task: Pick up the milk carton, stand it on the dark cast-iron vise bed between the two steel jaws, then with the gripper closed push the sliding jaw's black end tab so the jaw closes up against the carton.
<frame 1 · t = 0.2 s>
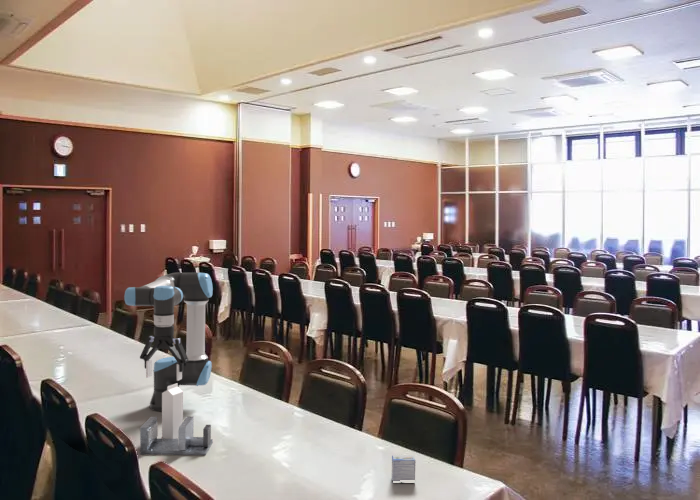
hand: (164, 378, 226), 27 cm above the table, fingers open, 13 cm apart
vise base: (177, 448, 225), on the table
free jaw: (195, 433, 225), point 6 cm above the table, slide at 0.0 cm
milk: (172, 437, 237), on the table
medicine box: (403, 481, 201), on the table
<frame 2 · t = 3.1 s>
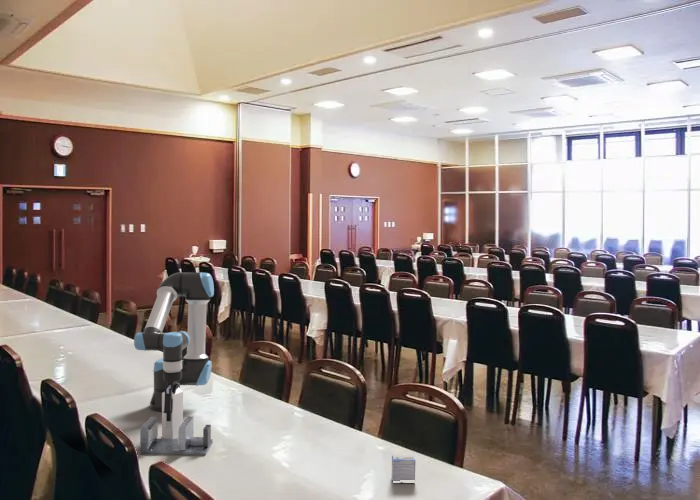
hand: (172, 424, 237), 5 cm above the table, fingers closed on milk, 8 cm apart
milk: (172, 437, 237), on the table, touching gripper
everything else where it was.
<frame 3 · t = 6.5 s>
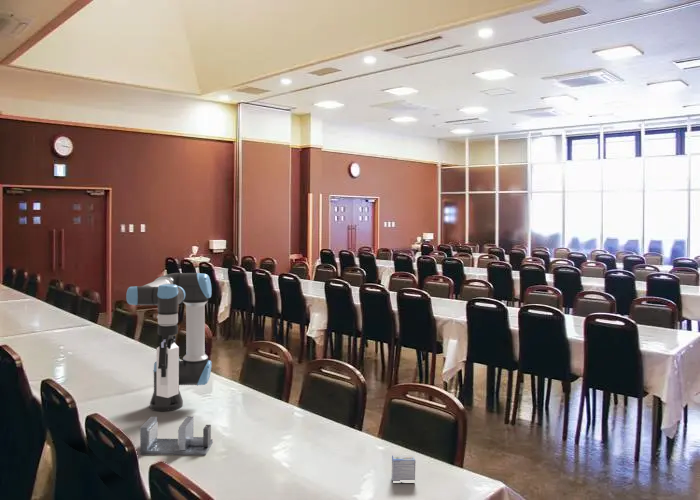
hand: (167, 381, 224), 27 cm above the table, fingers closed on milk, 8 cm apart
milk: (167, 395, 224), point 21 cm above the table, touching gripper
everything else where it was.
when the fingers open (8 cm above the table, at t = 10.1 s): milk drops 1 cm, resting on vise base.
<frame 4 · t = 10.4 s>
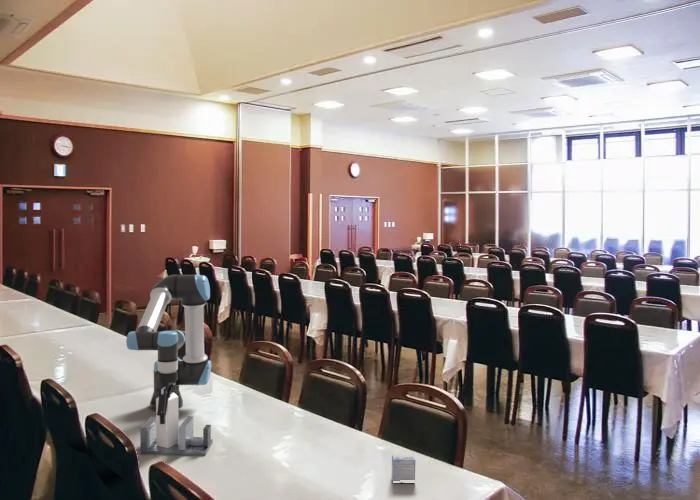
hand: (167, 426, 225), 9 cm above the table, fingers open, 11 cm apart
milk: (167, 444, 225), point 1 cm above the table, touching vise base
everything else where it was.
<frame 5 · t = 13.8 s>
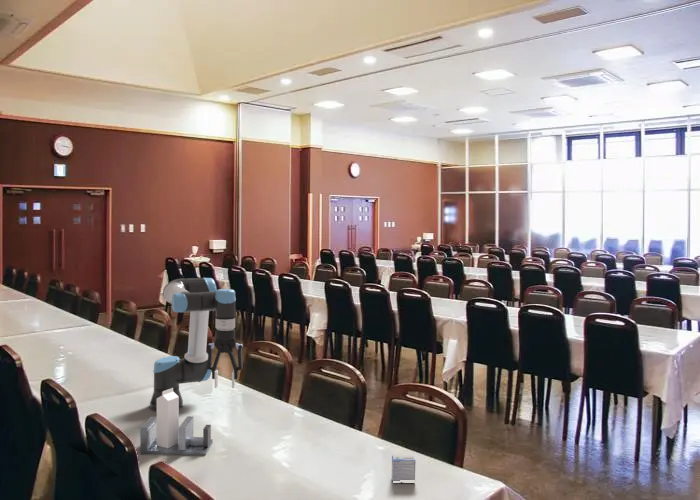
hand: (224, 387, 224), 25 cm above the table, fingers open, 6 cm apart
nothing on the table moved.
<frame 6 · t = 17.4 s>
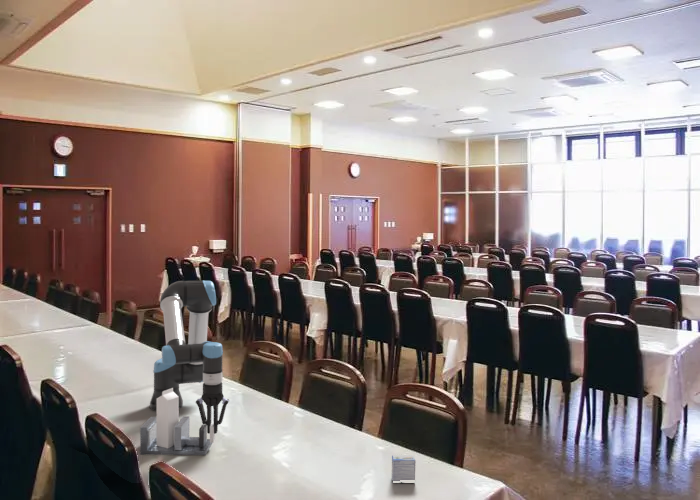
hand: (212, 441, 226), 3 cm above the table, fingers closed
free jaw: (191, 433, 225), point 6 cm above the table, slide at 1.6 cm, touching gripper, milk
milk: (167, 444, 225), point 1 cm above the table, touching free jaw, vise base
everything else where it was.
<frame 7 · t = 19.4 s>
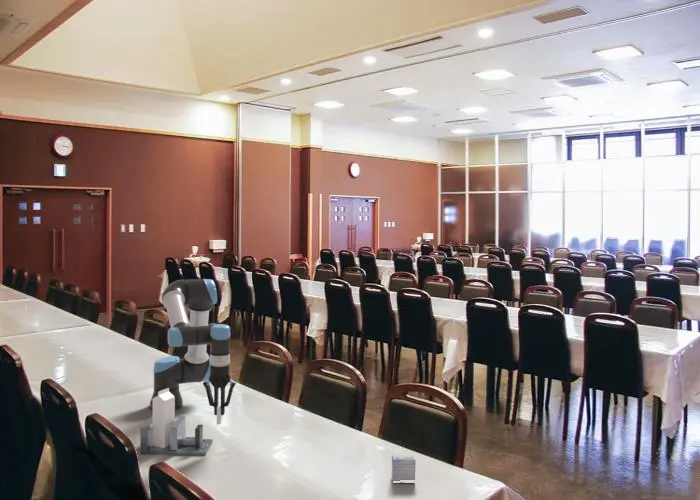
hand: (219, 422, 226), 10 cm above the table, fingers closed
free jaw: (187, 432, 225), point 6 cm above the table, slide at 3.2 cm
milk: (163, 444, 225), point 1 cm above the table, touching vise base
everything else where it was.
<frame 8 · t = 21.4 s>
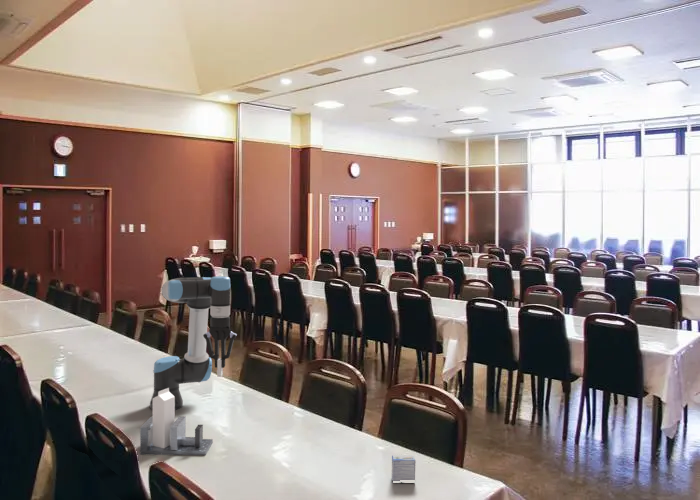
hand: (219, 375, 224), 29 cm above the table, fingers closed
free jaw: (187, 432, 225), point 6 cm above the table, slide at 3.2 cm, touching milk
milk: (163, 444, 225), point 1 cm above the table, touching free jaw, vise base
everything else where it was.
at the end: milk inside the target area (1.0 cm from its centre), point 1.3 cm above the table; milk tilted 0°; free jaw slide at 3.2 cm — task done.
